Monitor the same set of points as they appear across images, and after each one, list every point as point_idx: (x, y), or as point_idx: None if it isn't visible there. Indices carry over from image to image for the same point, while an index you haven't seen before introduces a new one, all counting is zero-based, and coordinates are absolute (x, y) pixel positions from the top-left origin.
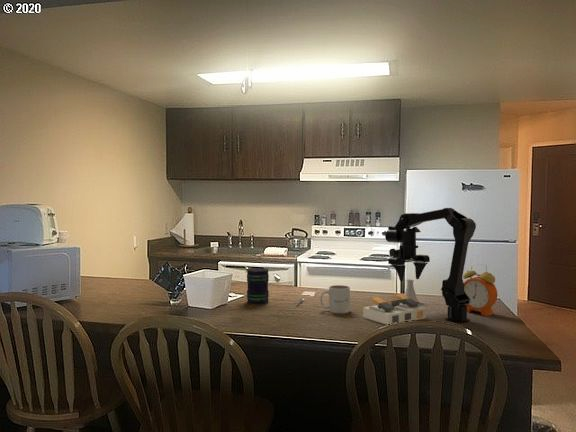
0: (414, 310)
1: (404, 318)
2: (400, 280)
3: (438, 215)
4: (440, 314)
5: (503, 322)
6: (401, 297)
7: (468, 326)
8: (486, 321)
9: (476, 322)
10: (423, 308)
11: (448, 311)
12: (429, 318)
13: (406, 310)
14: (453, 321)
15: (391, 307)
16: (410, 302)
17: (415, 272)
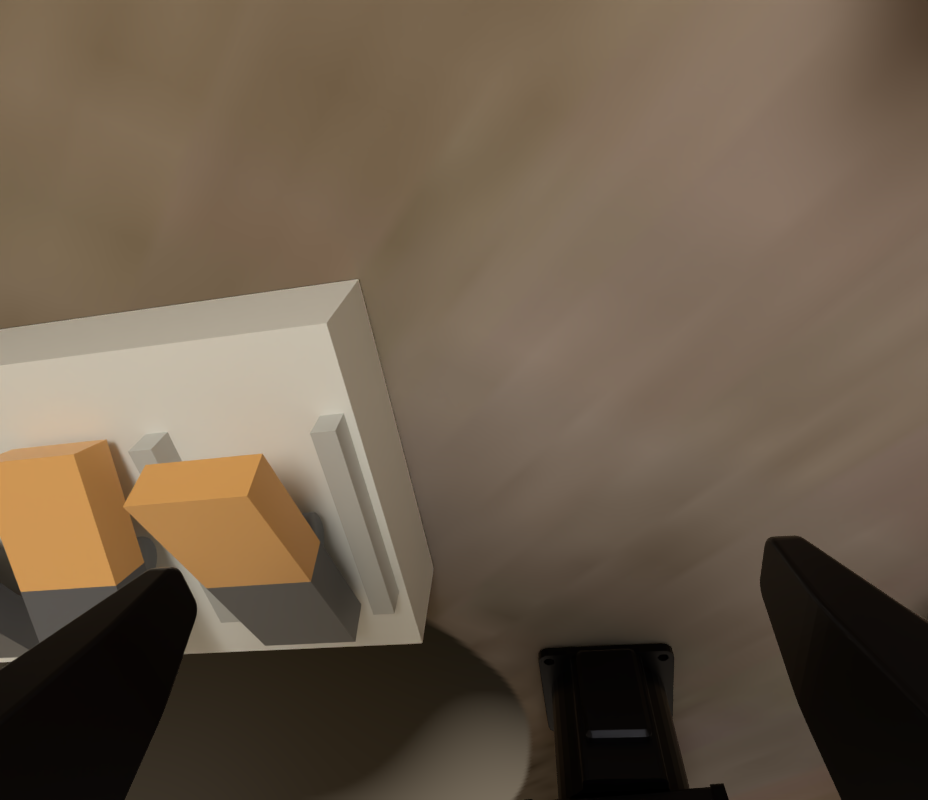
0: (276, 646)
1: None
2: (146, 590)
3: None
4: (652, 534)
5: (833, 791)
6: (192, 562)
7: (551, 763)
8: (765, 750)
9: (681, 741)
10: (390, 643)
11: (575, 709)
12: (458, 581)
13: (196, 635)
14: (545, 698)
15: (11, 657)
16: (266, 630)
17: (914, 695)
